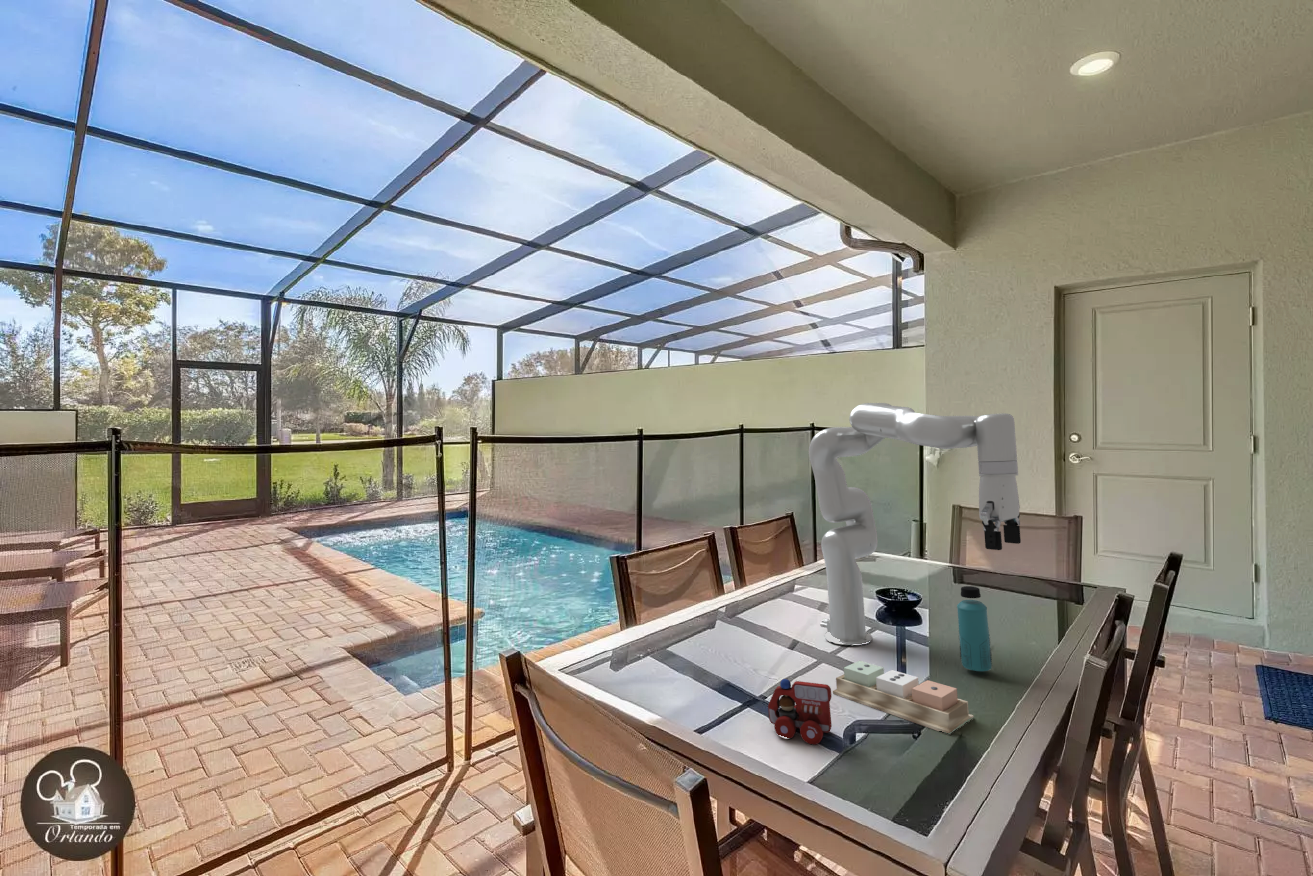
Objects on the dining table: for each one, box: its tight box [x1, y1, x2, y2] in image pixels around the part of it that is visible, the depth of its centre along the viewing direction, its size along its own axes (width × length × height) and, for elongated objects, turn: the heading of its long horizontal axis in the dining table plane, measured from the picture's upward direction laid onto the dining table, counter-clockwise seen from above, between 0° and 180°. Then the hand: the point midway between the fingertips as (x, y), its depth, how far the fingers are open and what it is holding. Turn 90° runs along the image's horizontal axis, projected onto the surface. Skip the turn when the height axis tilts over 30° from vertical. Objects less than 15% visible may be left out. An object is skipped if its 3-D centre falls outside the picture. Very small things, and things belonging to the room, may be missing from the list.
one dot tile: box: [912, 679, 959, 712], centre depth 116 cm, size 6×6×4 cm
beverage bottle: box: [956, 585, 993, 672], centre depth 137 cm, size 6×7×20 cm
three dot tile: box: [876, 669, 920, 699], centre depth 122 cm, size 6×6×4 cm
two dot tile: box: [843, 660, 885, 687], centre depth 129 cm, size 6×6×4 cm
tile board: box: [832, 674, 975, 733], centre depth 122 cm, size 26×10×3 cm, turn 37°
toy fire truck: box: [767, 678, 833, 746], centre depth 113 cm, size 7×12×10 cm, turn 60°
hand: (1003, 546), depth 129 cm, fingers open, 9 cm apart
